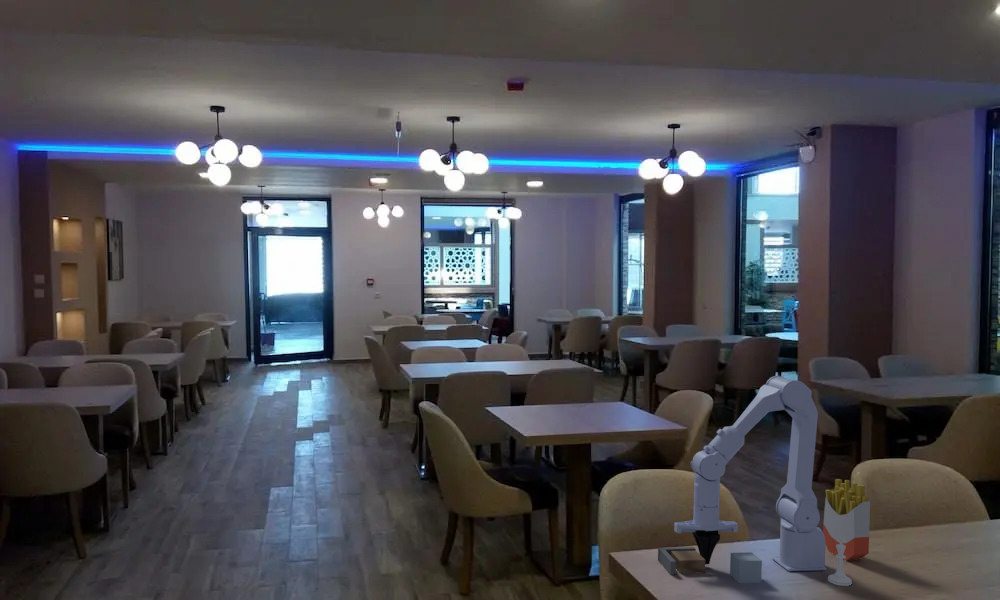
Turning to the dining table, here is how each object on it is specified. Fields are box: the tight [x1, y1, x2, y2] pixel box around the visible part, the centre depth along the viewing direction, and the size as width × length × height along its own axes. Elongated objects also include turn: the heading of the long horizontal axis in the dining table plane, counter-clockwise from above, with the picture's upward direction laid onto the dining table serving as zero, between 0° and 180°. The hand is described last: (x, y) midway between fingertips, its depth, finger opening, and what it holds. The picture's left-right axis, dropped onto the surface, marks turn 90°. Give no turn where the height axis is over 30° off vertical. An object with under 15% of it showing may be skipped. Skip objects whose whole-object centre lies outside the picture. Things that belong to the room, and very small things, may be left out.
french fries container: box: [822, 478, 871, 561], centre depth 183 cm, size 5×11×18 cm, turn 15°
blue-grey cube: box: [729, 551, 763, 584], centre depth 168 cm, size 5×5×5 cm
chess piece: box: [827, 537, 853, 587], centre depth 167 cm, size 5×5×10 cm
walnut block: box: [671, 550, 706, 574], centre depth 173 cm, size 6×6×3 cm
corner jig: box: [657, 546, 697, 576], centre depth 174 cm, size 9×9×3 cm
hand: (705, 562), depth 174 cm, fingers closed
